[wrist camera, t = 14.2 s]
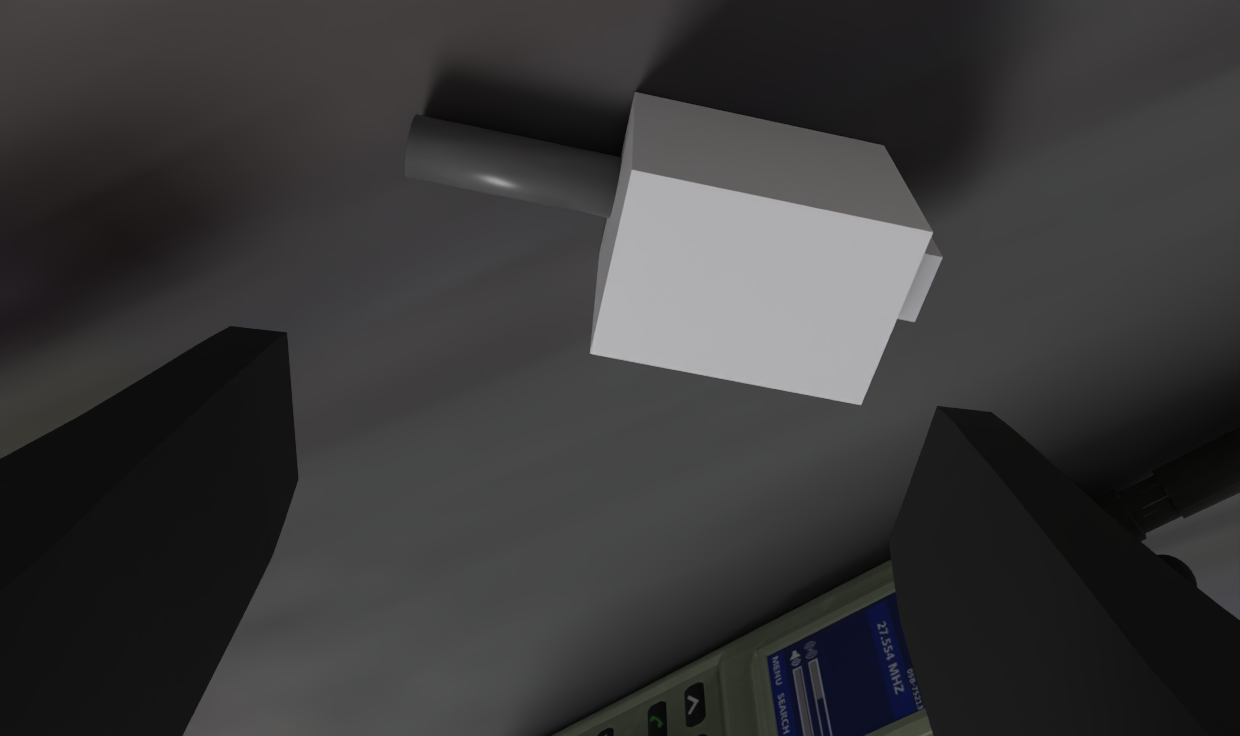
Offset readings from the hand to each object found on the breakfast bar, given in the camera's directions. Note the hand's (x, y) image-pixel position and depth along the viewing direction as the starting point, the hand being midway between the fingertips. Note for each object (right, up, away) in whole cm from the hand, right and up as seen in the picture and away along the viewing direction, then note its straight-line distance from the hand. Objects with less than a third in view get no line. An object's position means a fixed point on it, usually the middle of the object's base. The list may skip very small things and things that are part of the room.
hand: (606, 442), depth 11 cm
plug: (+1, +5, +9) cm, 10 cm away
